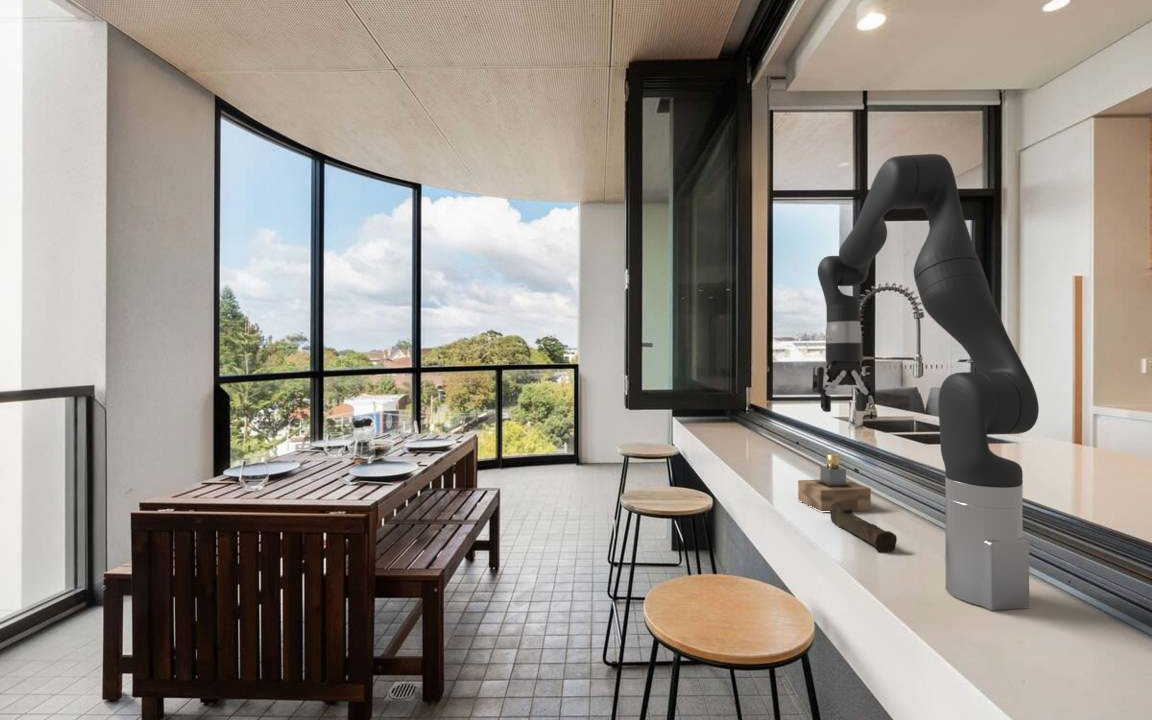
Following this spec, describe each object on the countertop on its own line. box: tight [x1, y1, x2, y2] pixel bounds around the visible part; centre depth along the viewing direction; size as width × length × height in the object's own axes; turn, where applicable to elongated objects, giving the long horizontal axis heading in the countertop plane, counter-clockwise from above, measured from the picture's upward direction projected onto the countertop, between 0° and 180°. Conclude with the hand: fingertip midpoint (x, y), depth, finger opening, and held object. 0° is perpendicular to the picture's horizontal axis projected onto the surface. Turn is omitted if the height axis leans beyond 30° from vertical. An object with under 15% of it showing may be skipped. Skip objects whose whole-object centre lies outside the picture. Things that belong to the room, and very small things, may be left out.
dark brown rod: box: [829, 503, 898, 553], centre depth 109 cm, size 19×4×5 cm, turn 2°
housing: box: [797, 478, 872, 512], centre depth 130 cm, size 10×12×5 cm
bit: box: [819, 453, 847, 488], centre depth 130 cm, size 4×4×12 cm
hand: (843, 411), depth 129 cm, fingers open, 8 cm apart
